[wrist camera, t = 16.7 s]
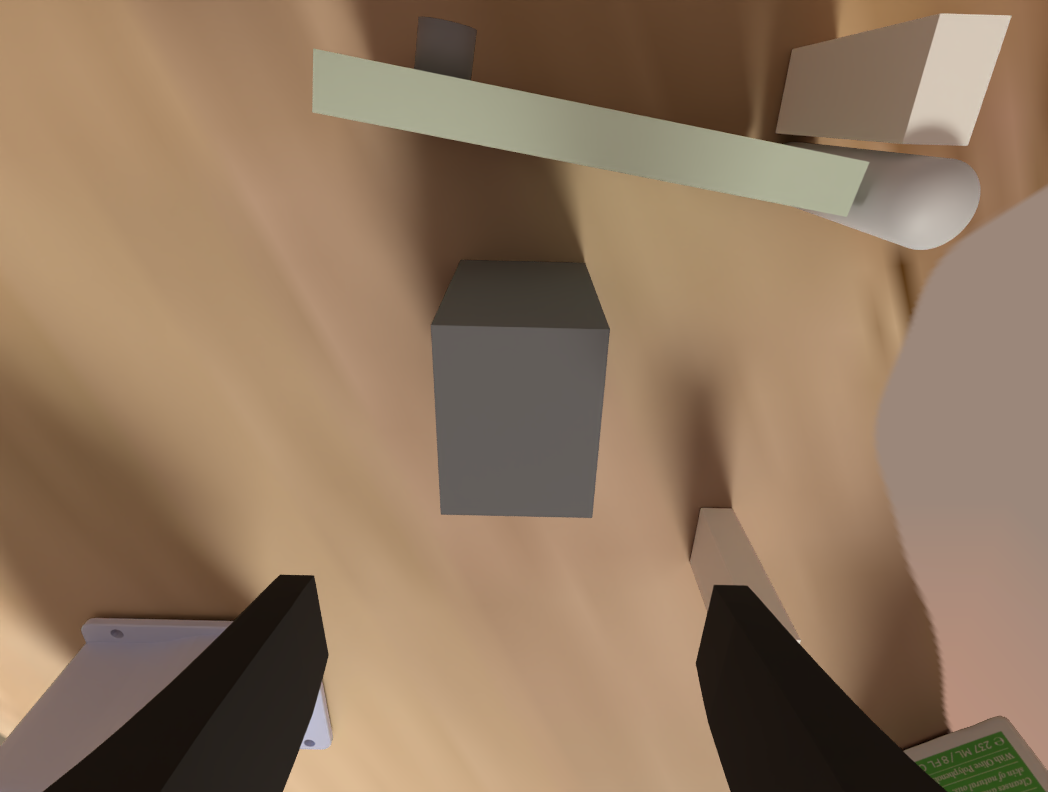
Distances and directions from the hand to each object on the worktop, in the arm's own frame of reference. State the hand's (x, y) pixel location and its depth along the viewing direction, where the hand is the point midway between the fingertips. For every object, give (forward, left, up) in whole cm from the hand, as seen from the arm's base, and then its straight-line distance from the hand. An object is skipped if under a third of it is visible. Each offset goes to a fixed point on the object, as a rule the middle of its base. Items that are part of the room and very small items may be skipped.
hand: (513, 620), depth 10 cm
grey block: (0, +2, -10) cm, 10 cm away
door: (+1, +8, -9) cm, 13 cm away
